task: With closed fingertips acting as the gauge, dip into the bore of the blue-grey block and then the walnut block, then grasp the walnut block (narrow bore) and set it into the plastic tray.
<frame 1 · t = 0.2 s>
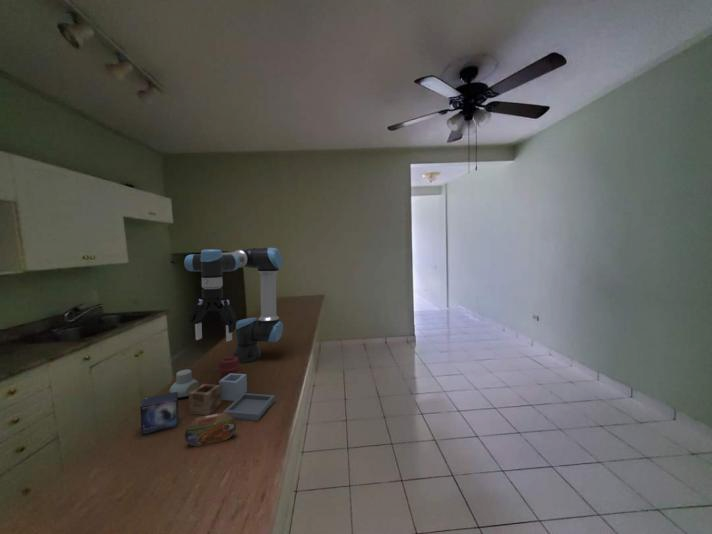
hand: (213, 339, 114), 27 cm above the worktop, fingers open, 13 cm apart
tray: (250, 409, 111), on the worktop
block B: (233, 395, 122), on the worktop
block A: (205, 408, 112), on the worktop
small box: (160, 427, 100), on the worktop
air freshener: (184, 394, 123), on the worktop
tin: (212, 441, 93), on the worktop
mechanical component: (229, 382, 134), on the worktop
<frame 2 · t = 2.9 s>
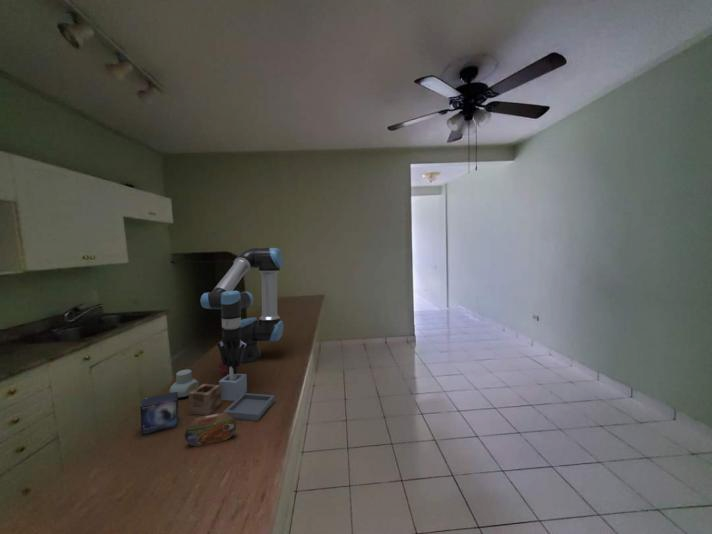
hand: (233, 380, 121), 6 cm above the worktop, fingers closed
nothing on the worktop moved.
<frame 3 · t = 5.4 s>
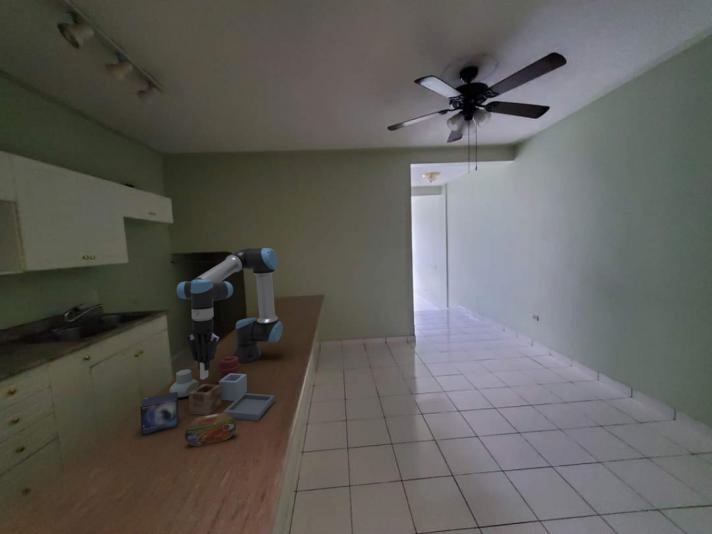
hand: (204, 377, 111), 13 cm above the worktop, fingers closed
nothing on the worktop moved.
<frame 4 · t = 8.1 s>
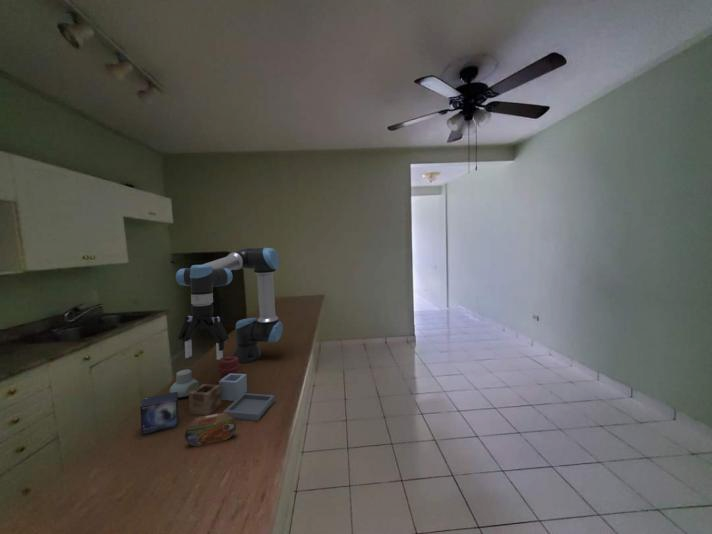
hand: (204, 357, 110), 21 cm above the worktop, fingers open, 13 cm apart
nothing on the worktop moved.
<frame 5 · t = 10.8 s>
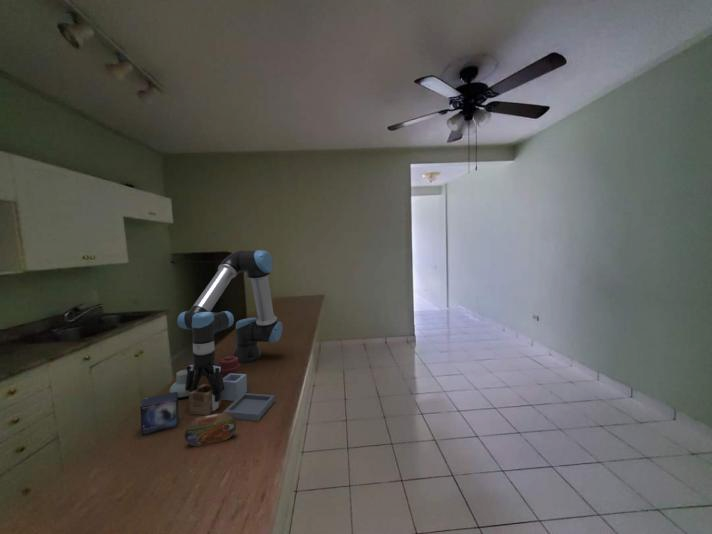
hand: (205, 408, 111), 0 cm above the worktop, fingers open, 8 cm apart
nothing on the worktop moved.
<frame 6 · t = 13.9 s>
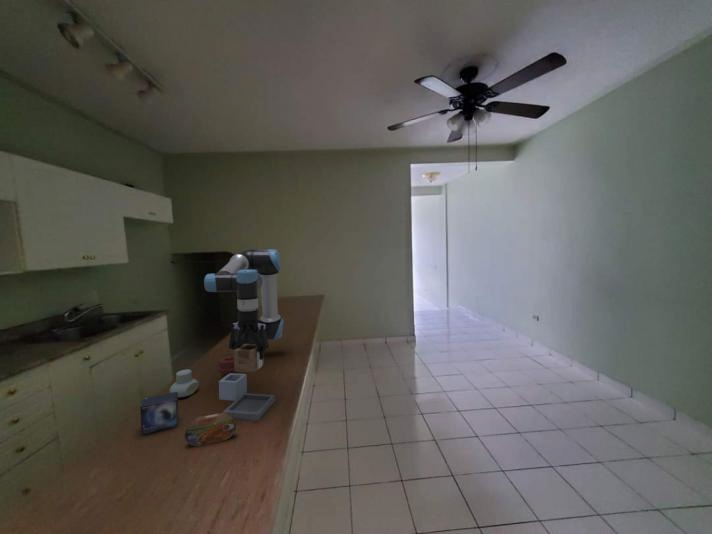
hand: (249, 366, 110), 17 cm above the worktop, fingers closed on block A, 8 cm apart
block A: (249, 367, 110), point 17 cm above the worktop, touching gripper
everything else where it was.
when the fingers open (3 cm above the worktop, at t = 16.8 s): block A drops 1 cm, resting on tray.
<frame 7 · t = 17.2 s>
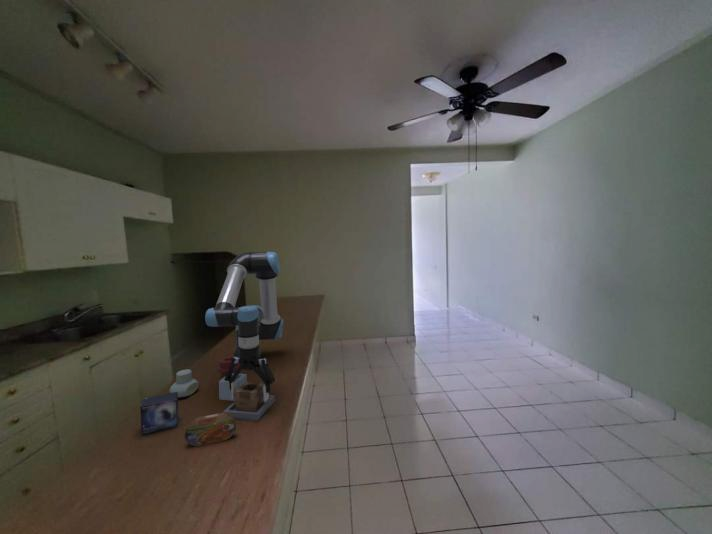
hand: (250, 398, 111), 4 cm above the worktop, fingers open, 13 cm apart
block A: (250, 406, 111), point 1 cm above the worktop, touching tray
everything else where it was.
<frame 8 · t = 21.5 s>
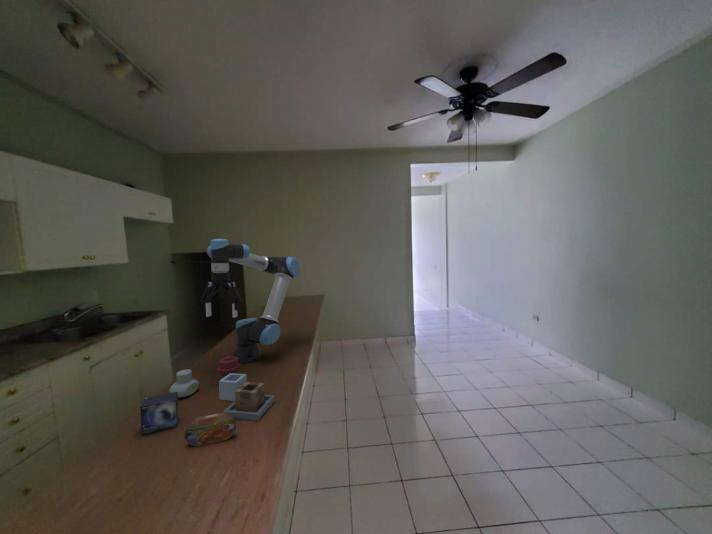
hand: (221, 316, 133), 32 cm above the worktop, fingers open, 13 cm apart
nothing on the worktop moved.
at the end: block A inside the target area on the tray (0.2 cm from its centre), point 0.8 cm above the tray's base; block A tilted 0°; block B moved 0.1 cm from its start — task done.
